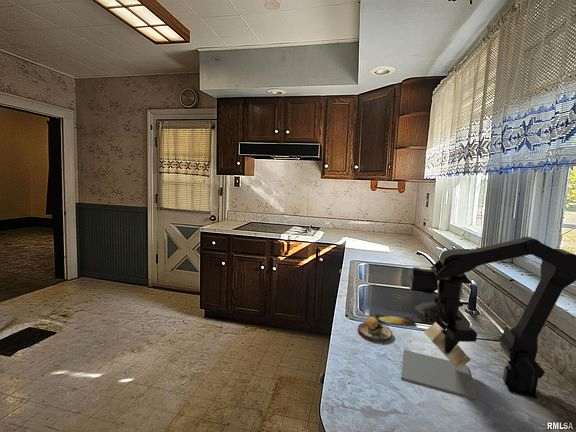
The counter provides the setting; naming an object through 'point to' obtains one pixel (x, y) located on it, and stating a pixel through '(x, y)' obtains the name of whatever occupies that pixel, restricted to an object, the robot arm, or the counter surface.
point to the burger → (374, 331)
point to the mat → (437, 374)
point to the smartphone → (395, 320)
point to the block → (438, 339)
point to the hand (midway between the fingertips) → (442, 347)
